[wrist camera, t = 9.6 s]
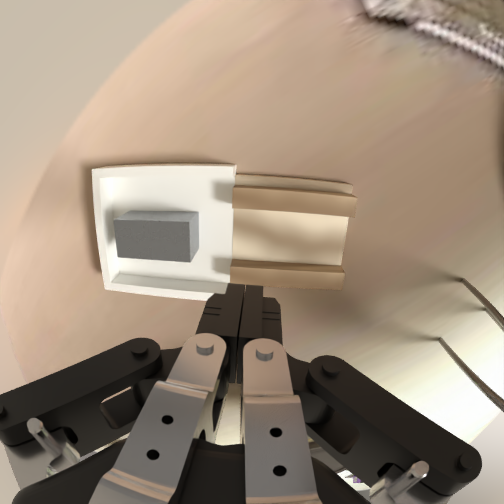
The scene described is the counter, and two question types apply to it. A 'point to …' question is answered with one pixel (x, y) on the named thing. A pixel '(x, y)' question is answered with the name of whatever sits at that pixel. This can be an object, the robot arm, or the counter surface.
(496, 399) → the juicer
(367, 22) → the counter surface
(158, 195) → the tray
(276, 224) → the slot block
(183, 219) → the steel chip
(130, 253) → the steel chip
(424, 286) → the counter surface
